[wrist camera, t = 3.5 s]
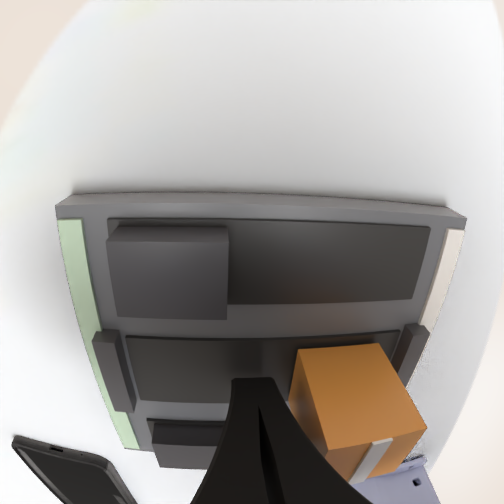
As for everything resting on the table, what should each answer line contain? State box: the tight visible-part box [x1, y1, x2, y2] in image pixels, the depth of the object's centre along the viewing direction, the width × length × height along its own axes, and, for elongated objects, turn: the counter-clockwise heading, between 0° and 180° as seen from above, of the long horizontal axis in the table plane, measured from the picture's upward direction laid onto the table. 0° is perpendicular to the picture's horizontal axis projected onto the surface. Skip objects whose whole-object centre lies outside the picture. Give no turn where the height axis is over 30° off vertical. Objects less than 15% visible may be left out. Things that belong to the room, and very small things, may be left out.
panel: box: [55, 192, 467, 469], centre depth 11 cm, size 13×12×2 cm
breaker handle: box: [288, 343, 427, 485], centre depth 9 cm, size 3×3×4 cm
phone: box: [12, 436, 137, 504], centre depth 18 cm, size 8×1×15 cm
